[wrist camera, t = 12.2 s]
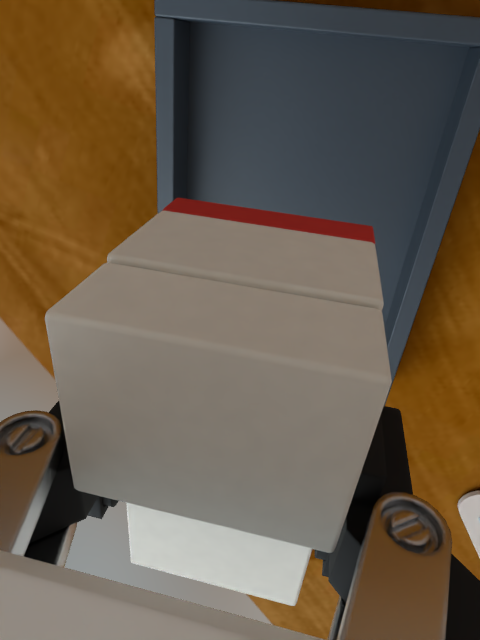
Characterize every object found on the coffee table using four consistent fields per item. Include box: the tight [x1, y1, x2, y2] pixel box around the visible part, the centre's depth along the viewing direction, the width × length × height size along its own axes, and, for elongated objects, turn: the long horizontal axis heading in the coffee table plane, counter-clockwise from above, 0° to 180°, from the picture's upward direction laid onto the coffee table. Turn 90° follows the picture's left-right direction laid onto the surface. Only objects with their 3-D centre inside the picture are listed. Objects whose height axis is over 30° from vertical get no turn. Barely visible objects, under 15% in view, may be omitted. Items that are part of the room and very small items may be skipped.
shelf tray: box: [155, 0, 480, 406], centre depth 21 cm, size 18×13×3 cm
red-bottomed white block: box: [45, 198, 392, 606], centre depth 10 cm, size 9×4×5 cm, turn 175°
